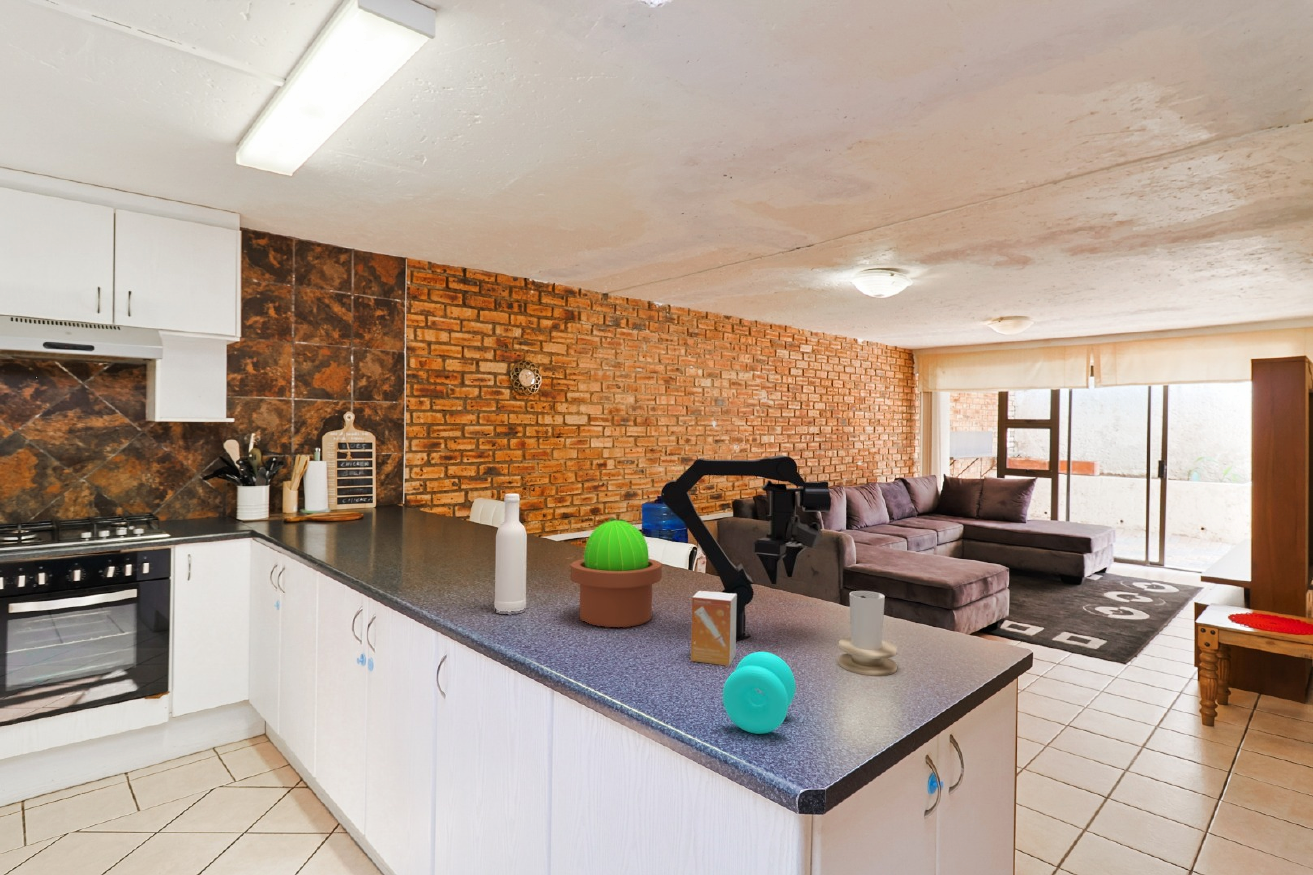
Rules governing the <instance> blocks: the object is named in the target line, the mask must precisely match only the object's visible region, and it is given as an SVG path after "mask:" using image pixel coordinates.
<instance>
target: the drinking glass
mask: <svg viewBox="0 0 1313 875" xmlns="http://www.w3.org/2000/svg"><path fill="white" fill-rule="evenodd" d="M885 597H886V596H885V595H884V594H883V593H880V592H875V591H868V590H856V591H855V590H854V591H851V592H849V617H850V618H849V619H850V637H851V644H852V646H854V647H856V648H860V649H866V650H877V649H880V648H881V647H882V640H883V632H884V631H883V629H884V616H885V615H884V613H885V600H886V599H885Z"/></svg>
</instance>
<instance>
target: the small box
mask: <svg viewBox="0 0 1313 875" xmlns="http://www.w3.org/2000/svg"><path fill="white" fill-rule="evenodd" d="M691 599H692V600H691V629H690V633H691V634H690V661H691V662H697V663H699V662H700V663H705V664H712V665H721V666H726V667H730V666H731V664H732V662H733V661H734V659H735V657H736V650H737V648H736V646H737V641H736V603H737V594H732V593H722V591H707V590H698V591H697V592H696V593H695V594H694V595H693V596H692V597H691Z"/></svg>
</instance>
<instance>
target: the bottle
mask: <svg viewBox="0 0 1313 875" xmlns="http://www.w3.org/2000/svg"><path fill="white" fill-rule="evenodd" d="M503 500H504V521H503V522H502V523H501V524H500V525H499V526H498V528H497V532H496V534H495V565H494V566H495V568H494V569H495V570H494V571H495V572H494V574H495V577H494V578H495V579H494V584H495V585H494V609H495V608H496V609H497V610H499V611H508V612H511V611H520V610H523V609H524V608H527V596H526V595H527V546H528V544H527V540H528V539H527V538H528V536H527V534H528V533H527V531H526V527H525V525H523V524H522V523H521V521H520V501H521V499H520V494H519V493H505V494H504V498H503Z"/></svg>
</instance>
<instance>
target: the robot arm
mask: <svg viewBox="0 0 1313 875" xmlns="http://www.w3.org/2000/svg"><path fill="white" fill-rule="evenodd" d="M705 476H718V477H719V476H721V477H723V476H725V477H728V476H729V477H733V476H734V477H758V478H764V479H768V480H767V481H766V483H765V484H764V485H762V486H761V488H760V489H761V490H762V491H764V492H769V515H766V521H769V533H765V534H766V536H765V537H762V538H758V539H756V540H755V541H754V542H753V546H752V547H753V550H752V551H753V553H755V554H756V557H758V558H759V560H760V562H761V565H762V566H763V568H764V570H765V572H766V575H767V577H768V579H769V582H770V584H771V585H777V583H778V579H779V571H780V565H781V561H782V562H783V565H784V566H783V567H784V570H785V573H786V576H787V578H793V576H794V573H795V569H796V566H797V562H798V559H799V556H800V554H801V553H802V552H803V551H804V550H805V549H807V548H809V549H810V548H811V549H812V548H814V547H818V544H819V542H820V539H822V538H823V531H822V529H821V524H819V523H817V522H811V523H810V524H809V525H808V524H806V523H805V524H804V523H801V517H800V516H799V515H798V514H796V511H797V510H796V508H797V507H796V502H797V506H798V507H799V508H800V507H802V512H817V513H818V512H822V513H823V512H824V513H827V512H830V511H831V506H832V496H831V494H830V491H831V490H830V488H829V481H826V480H823V481H822V480H820V481H805V479H804V478H803V477H802V476H801V475H800V473H799V472H798V464H797V462H796V461H795V459H793V458H792V457H791V456H788V455H773V456H769V457H763V458H758V459H708V458H707V459H706V458H702V457H699V458H696V459H695V460H694V461H693V462H692V464H691V465H690V466H689V467H687V469H686V470H685V471H684V472H682V473H681V475H680V476H678V478H677V479H672V480H669V481H666V483H665V484H664V485H663V487H662V488H661V491H660V498H661V501H662V502H663V504H665V505H666V506H667V508H668V509H669V510H670V511H671V512H672V513H673V514H675V515H676V517H678V518H679V519H680V520H681V521H682V522H683V523H684V525H685V526H686V528H687V530H689V533H690V534H691V535H692V537H693V538H694V540H695V541H696V543H697V544H698V546H699V547H700V549H701V550H702V551H703V553H704V554H705V556H706V557H707V559H708V560H709V562H710V563H711V565H712V566H713V568H714V570H716V572H717V574H718V576H719V579H720V581H721V585H722V586H723V590H721V592H722V593H732V594H737V603H736V642H737V641H740V640H743V639H747V638H750V637H751V633H746V620H747V618H746V605H748V604H750V603H751V602H752V600H753V598H754V595H755V592H754V588H753V585H754V581H753V580H752V577H751V576H750V575H749V574H747V573H746V570H745V568H744V567H743V564H742V563H740V564H738V565H737V566H736V565H735V564H734V563H733V562H732V561H731V560H730V559H729V557H728V556H727V555H726V553H725V552H724V550H723V548H722V547H721V546H720V544H719V543H718V542H717V540H716V538H715V537H714V535H713V533H711V531H710V529H709V528H708V527H707V525H706V524H705V522H704V520H703V519H702V518H701V516H700V515H699V513H698V511H697V510H696V507H695V505H694V503H693V500H692V498H691V495H690V494H689V491H690V490H691V489H692V488H694V486H695V485H696V484H697V483H698V482H699V481H700V480H701V479H702V478H703V477H705ZM771 480H772V481H771ZM773 481H779V482H782V483H774V482H773ZM783 482H785V483H783ZM786 482H788V483H789V484H791V485H793V486H795V487H792V488H791V487H787V484H786ZM796 487H797V488H796ZM798 487H799V488H798ZM796 493H797V495H796ZM796 497H797V498H796ZM796 500H797V501H796Z"/></svg>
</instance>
